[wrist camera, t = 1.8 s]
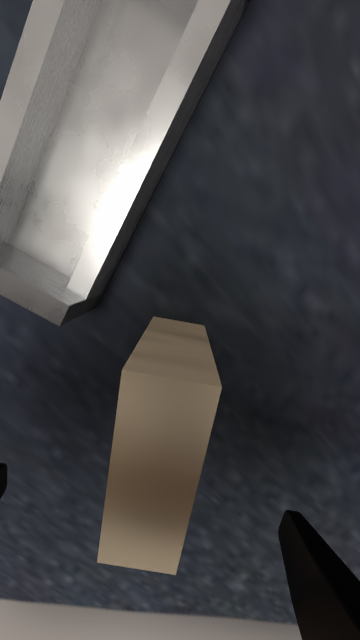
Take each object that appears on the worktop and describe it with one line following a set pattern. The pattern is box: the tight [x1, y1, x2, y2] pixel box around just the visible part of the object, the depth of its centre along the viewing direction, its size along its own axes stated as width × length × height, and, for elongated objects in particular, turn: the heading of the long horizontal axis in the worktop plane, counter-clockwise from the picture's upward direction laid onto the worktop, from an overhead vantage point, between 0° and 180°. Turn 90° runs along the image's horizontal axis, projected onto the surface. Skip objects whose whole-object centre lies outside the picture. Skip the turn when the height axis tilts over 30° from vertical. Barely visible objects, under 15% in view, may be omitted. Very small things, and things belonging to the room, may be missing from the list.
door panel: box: [97, 317, 222, 575], centre depth 11 cm, size 8×3×7 cm, turn 170°
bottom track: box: [0, 0, 249, 326], centre depth 10 cm, size 16×6×4 cm, turn 150°
